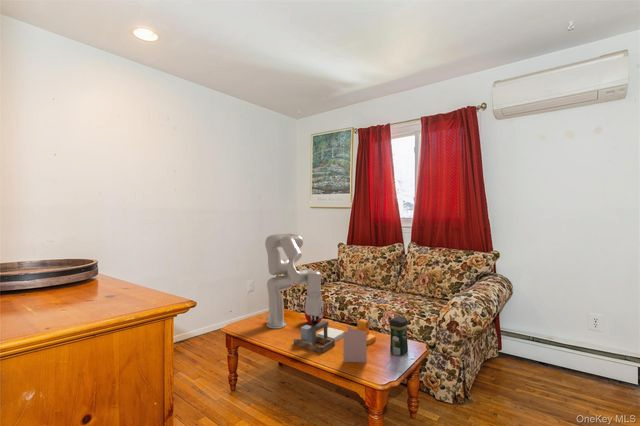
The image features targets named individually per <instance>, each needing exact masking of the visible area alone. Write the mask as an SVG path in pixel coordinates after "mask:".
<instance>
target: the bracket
mask: <svg viewBox="0 0 640 426" xmlns="http://www.w3.org/2000/svg"><path fill="white" fill-rule="evenodd" d="M370 326H371V323H370V321H369V320H366V319H362V318H361V319H359V320H358V321H357V325H356V329H357V330H360V331H363V332H366V341H367V346H369V345H370V344H373V343H374V342H375V341H376V339H377V335H375V334H373V333H370V330H369V329H370Z"/></svg>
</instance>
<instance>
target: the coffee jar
mask: <svg viewBox="0 0 640 426" xmlns="http://www.w3.org/2000/svg"><path fill="white" fill-rule="evenodd" d="M389 328H390V329H389V330H390V342H389V343H390V344H389V345H390V346H389V347H390V348H389V349H390V350H389V352H390V353H391V354H392V355H393V356H396V357H397V356H399V357H403V356H404V355H406V354H408V351H409V346H408V319H407V318H406V317H405V316H404V315H403V316H402V315H397V316H394V317H392V318H391V319H389Z"/></svg>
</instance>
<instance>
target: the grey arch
mask: <svg viewBox="0 0 640 426" xmlns="http://www.w3.org/2000/svg"><path fill="white" fill-rule="evenodd" d="M311 326H312V325H311ZM328 326H329V321H326V320H323V321H322V320H321V321H320V322H319V323H318V324H316V325H314V326H312V327H311V331H312V345H315V344H316V345H317V341H316V335H317V333H316V332H318V331H320V330H322V329H323V330H324V338H328V335H327V328H328Z"/></svg>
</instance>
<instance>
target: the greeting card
mask: <svg viewBox="0 0 640 426" xmlns="http://www.w3.org/2000/svg"><path fill="white" fill-rule="evenodd" d="M342 339H343V342H342V343H343V345H342V346H343V347H342V348H343V350H342V351H343V353H342V354H343V363H344V362H345V363H368V361H367V359H368V355H367V354H368V353H367V349H368V348H367V346H368V345H367V341H366V332H363V331H360V330H357V328H352V327H349V326H347V331H345V332H343V337H342Z"/></svg>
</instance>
